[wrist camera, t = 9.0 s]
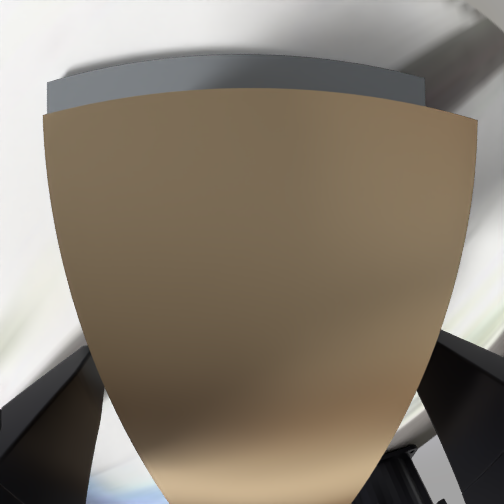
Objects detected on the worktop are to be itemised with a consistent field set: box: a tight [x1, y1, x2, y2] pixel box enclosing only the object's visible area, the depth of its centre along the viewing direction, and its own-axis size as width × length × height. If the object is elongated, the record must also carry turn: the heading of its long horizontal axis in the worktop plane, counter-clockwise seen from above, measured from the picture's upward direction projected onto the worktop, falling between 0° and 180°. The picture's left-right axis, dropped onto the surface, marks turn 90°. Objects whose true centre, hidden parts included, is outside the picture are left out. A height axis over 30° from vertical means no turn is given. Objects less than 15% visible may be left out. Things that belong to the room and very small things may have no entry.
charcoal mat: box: [47, 54, 425, 114], centre depth 11 cm, size 13×16×1 cm
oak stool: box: [43, 88, 478, 504], centre depth 8 cm, size 12×6×6 cm, turn 1°
